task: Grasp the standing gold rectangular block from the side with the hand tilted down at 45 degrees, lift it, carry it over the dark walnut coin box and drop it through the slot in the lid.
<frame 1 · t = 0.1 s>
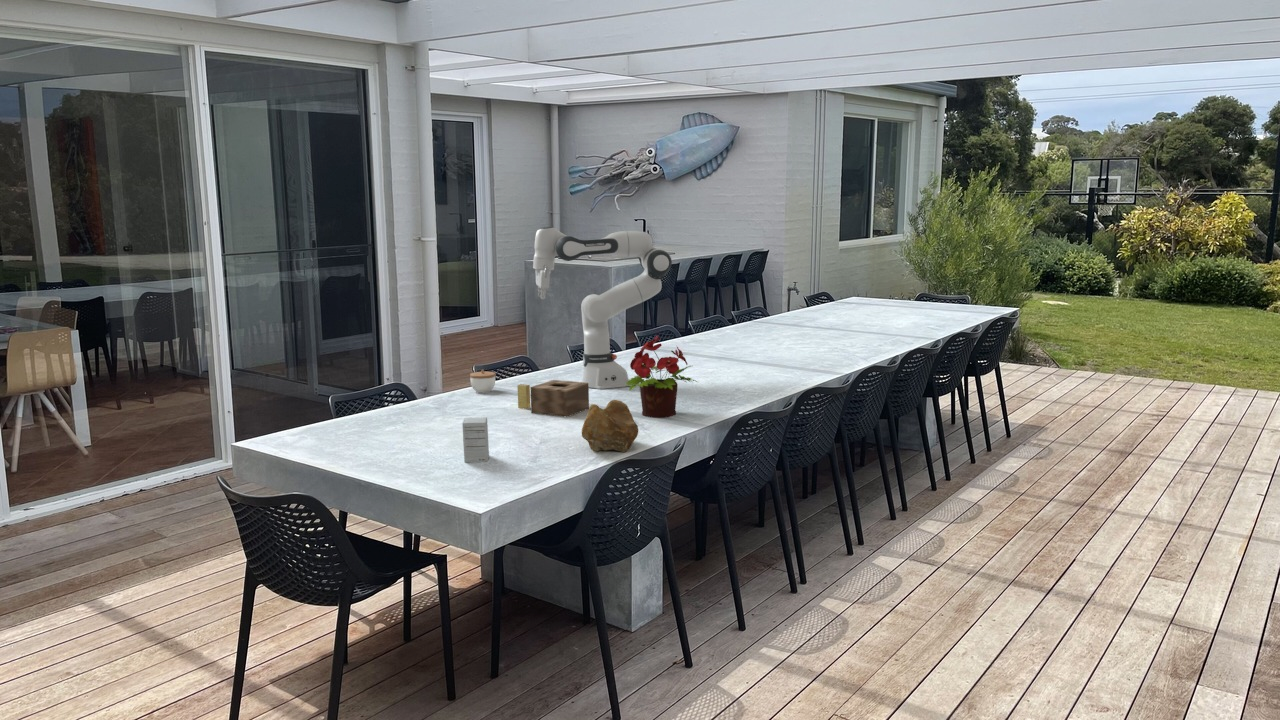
hand: (541, 297, 403), 39 cm above the table, tool pointing down, fingers open, 8 cm apart
lidded jar: (483, 392, 404), on the table
supplement box: (476, 459, 299), on the table
gold rectangular block: (524, 407, 371), on the table
rough brown rock: (614, 448, 309), on the table
coin box: (560, 410, 365), on the table
potted plant: (657, 415, 355), on the table
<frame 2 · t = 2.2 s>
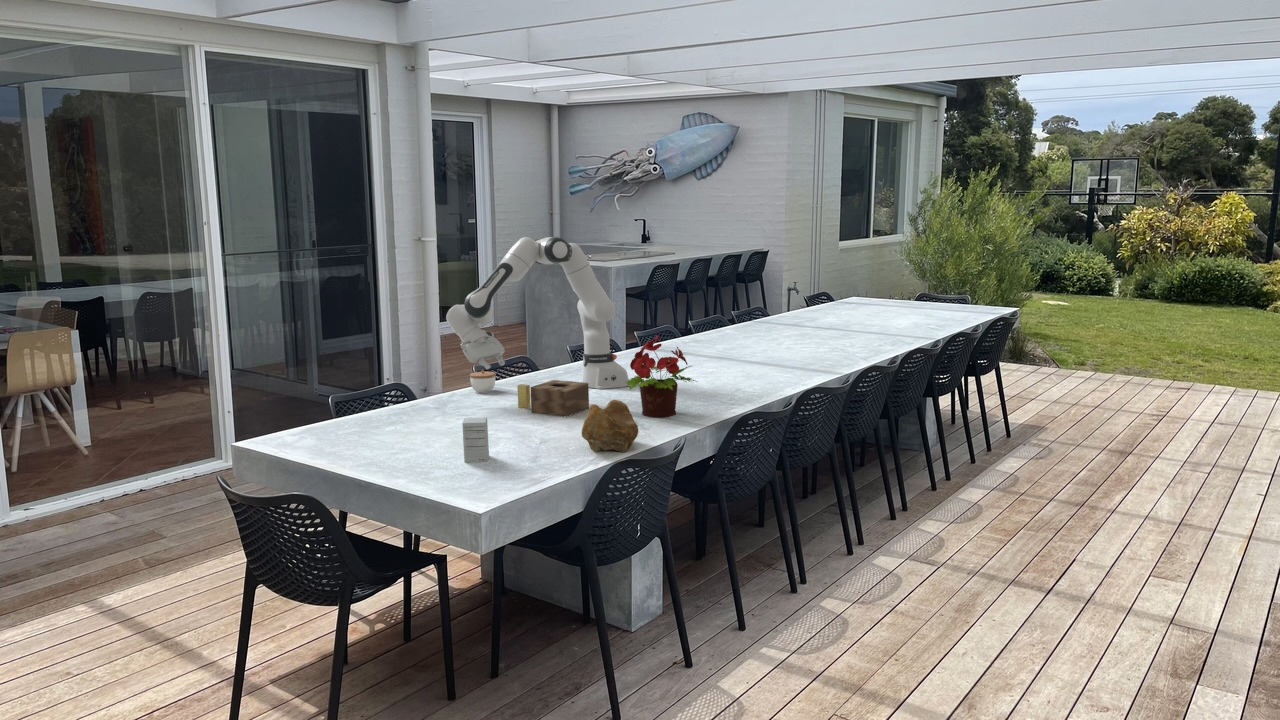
hand: (496, 366, 375), 16 cm above the table, tool tilted 45°, fingers open, 8 cm apart
nothing on the table moved.
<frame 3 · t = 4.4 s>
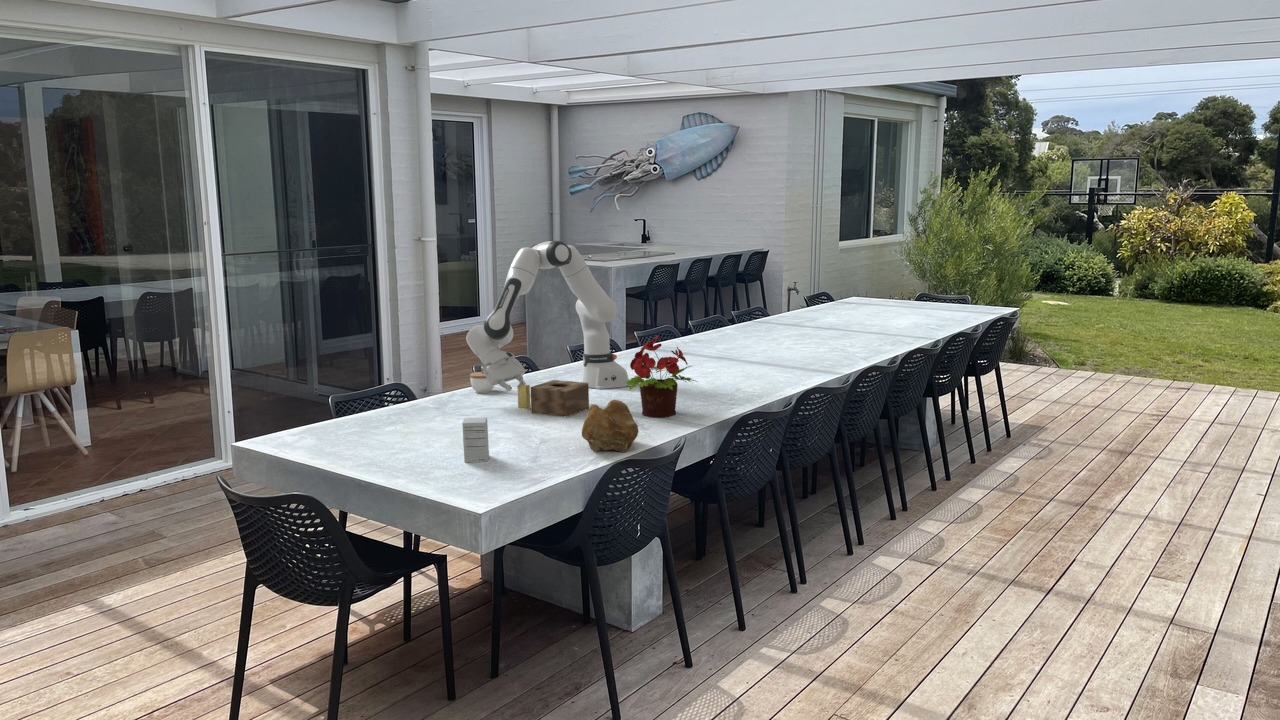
hand: (517, 387, 371), 8 cm above the table, tool tilted 45°, fingers open, 8 cm apart
nothing on the table moved.
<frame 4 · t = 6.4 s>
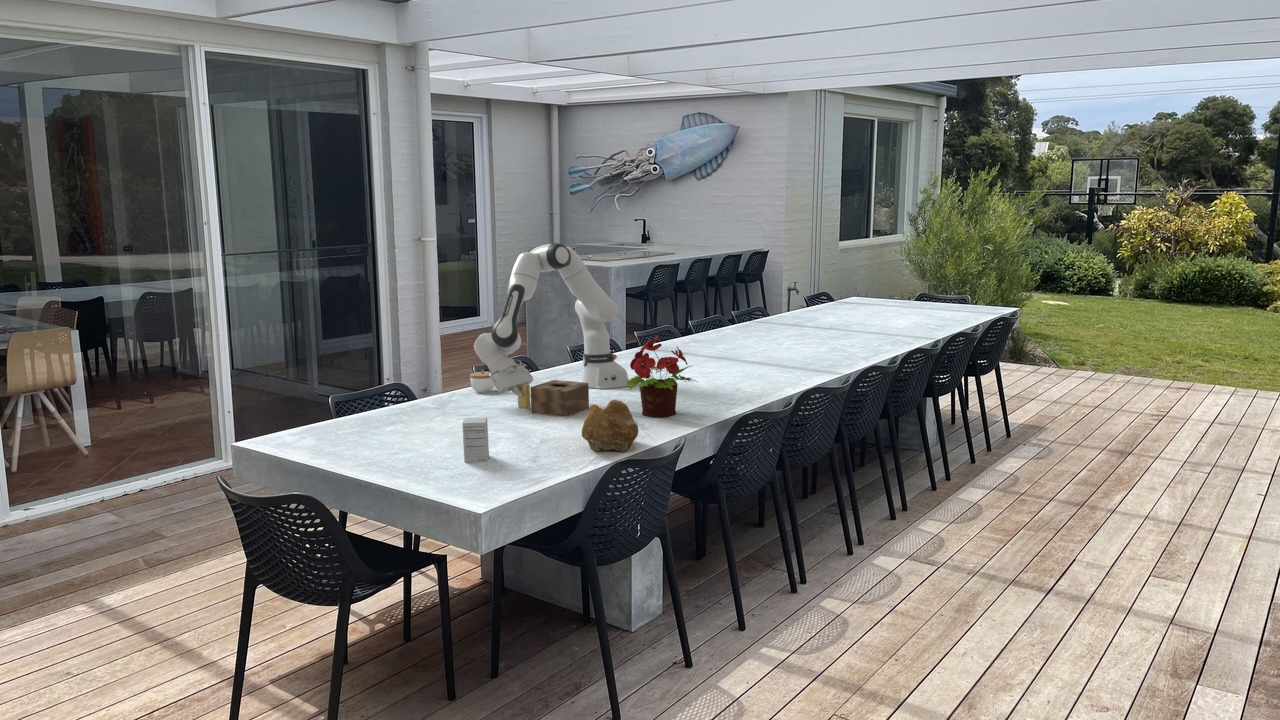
hand: (525, 395, 370), 5 cm above the table, tool tilted 45°, fingers closed on gold rectangular block, 2 cm apart
gold rectangular block: (524, 407, 371), on the table, touching gripper
everything else where it was.
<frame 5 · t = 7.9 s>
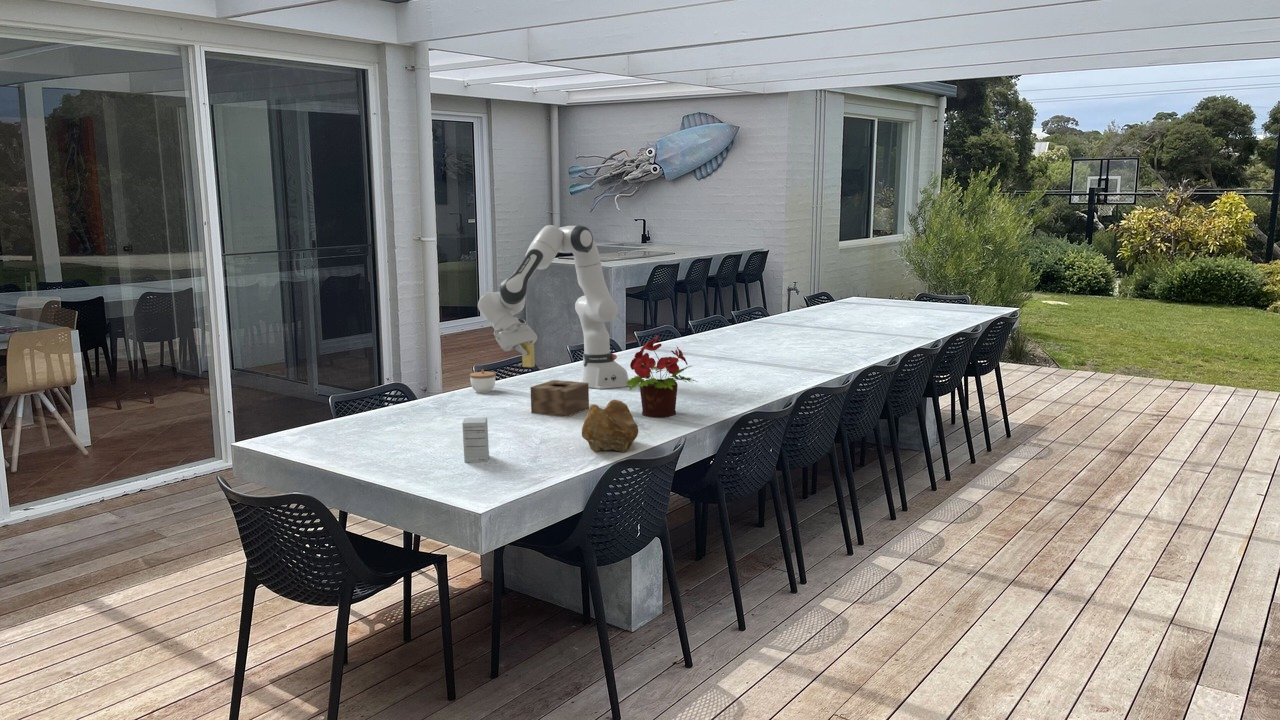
hand: (529, 354, 367), 21 cm above the table, tool tilted 45°, fingers closed on gold rectangular block, 2 cm apart
gold rectangular block: (528, 366, 368), point 16 cm above the table, touching gripper
everything else where it was.
when the fingers open (18 cm above the table, at t = 9.6 s): gold rectangular block drops 13 cm, resting on coin box.
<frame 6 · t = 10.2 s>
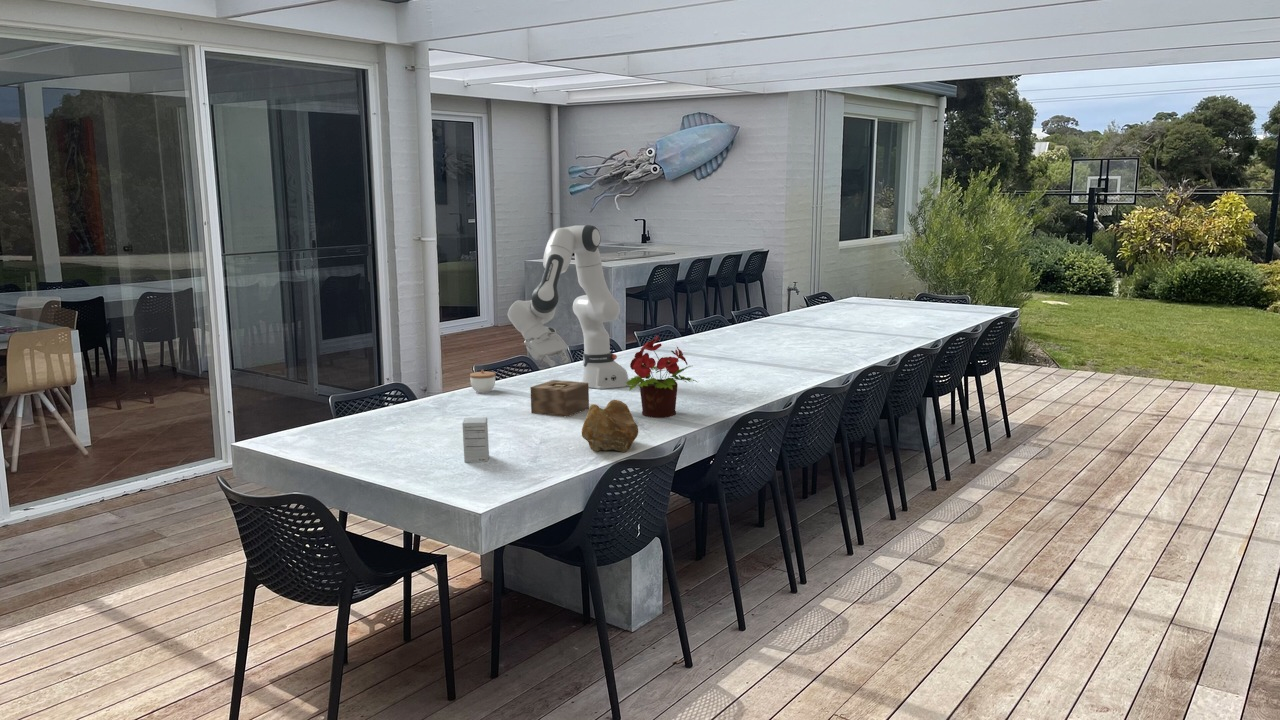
hand: (560, 363, 362), 18 cm above the table, tool tilted 45°, fingers open, 8 cm apart
gold rectangular block: (560, 408, 365), point 1 cm above the table, touching coin box
everything else where it was.
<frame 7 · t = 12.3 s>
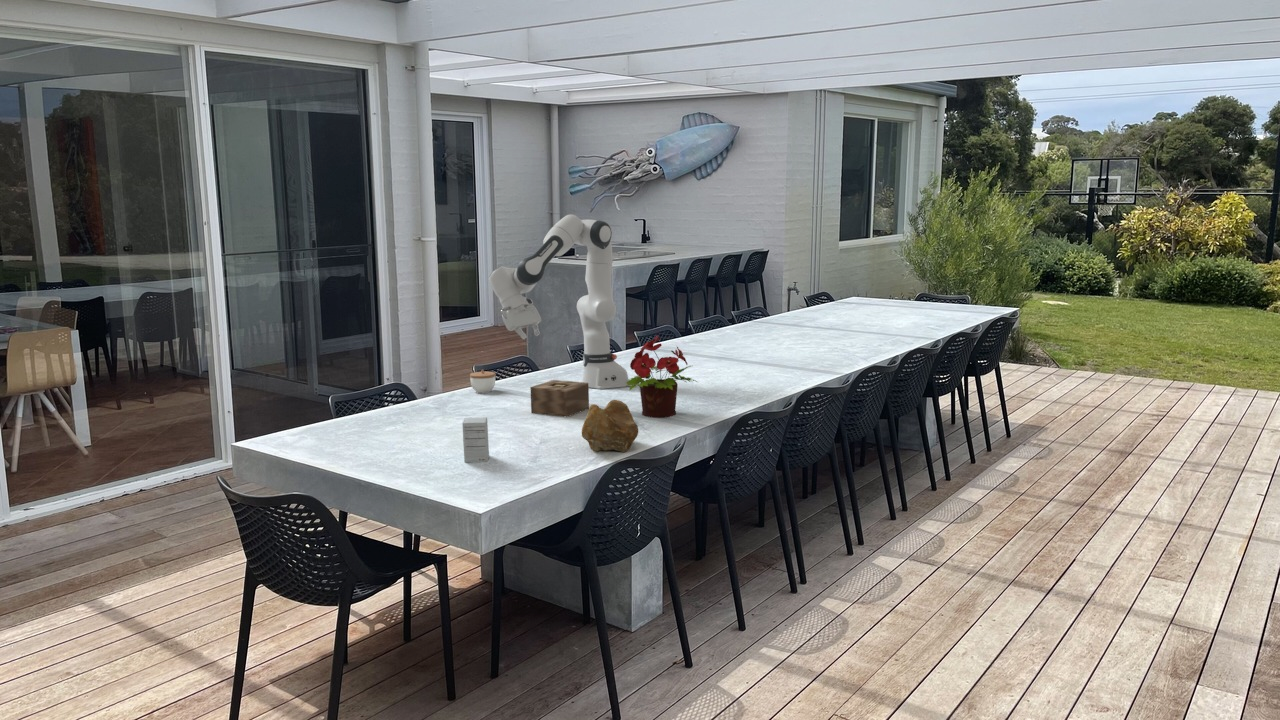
hand: (531, 336, 370), 27 cm above the table, tool tilted 30°, fingers open, 8 cm apart
nothing on the table moved.
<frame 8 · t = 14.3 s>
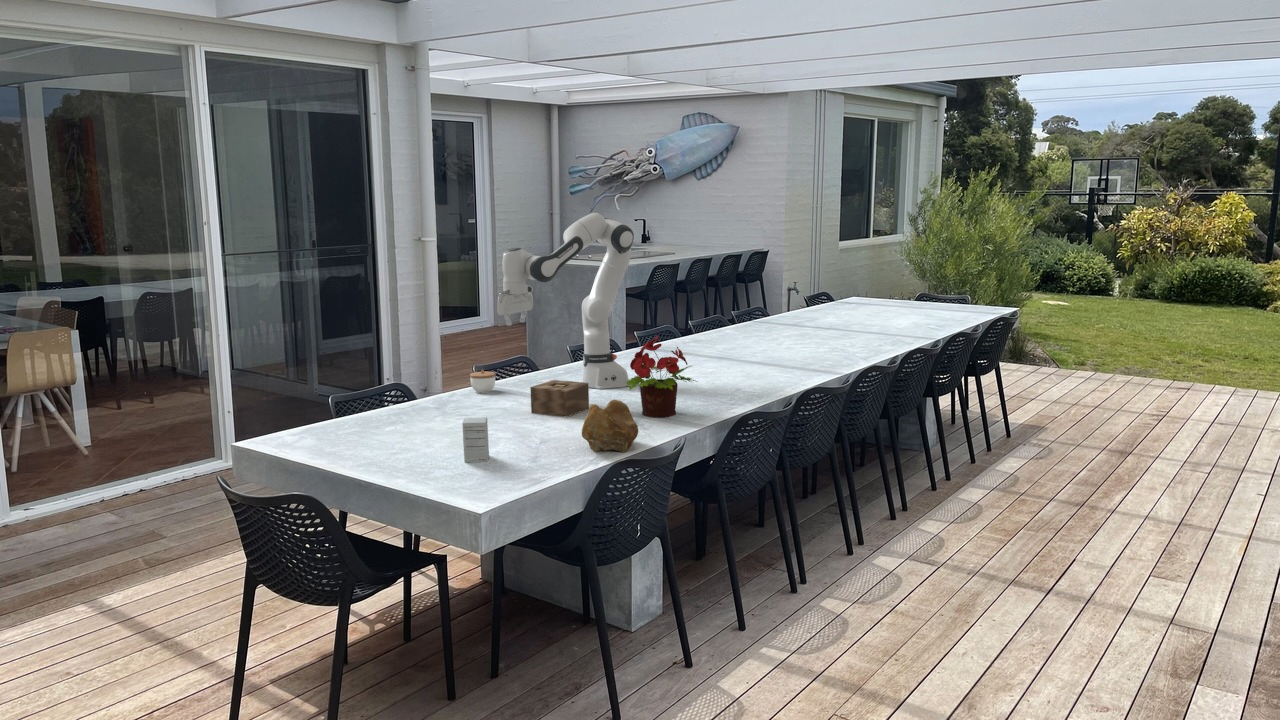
hand: (515, 323, 380), 31 cm above the table, tool pointing down, fingers open, 8 cm apart
nothing on the table moved.
at the end: gold rectangular block inside the target area on the coin box (0.1 cm from its centre), point 0.8 cm above the coin box's base; the gripper is holding nothing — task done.
